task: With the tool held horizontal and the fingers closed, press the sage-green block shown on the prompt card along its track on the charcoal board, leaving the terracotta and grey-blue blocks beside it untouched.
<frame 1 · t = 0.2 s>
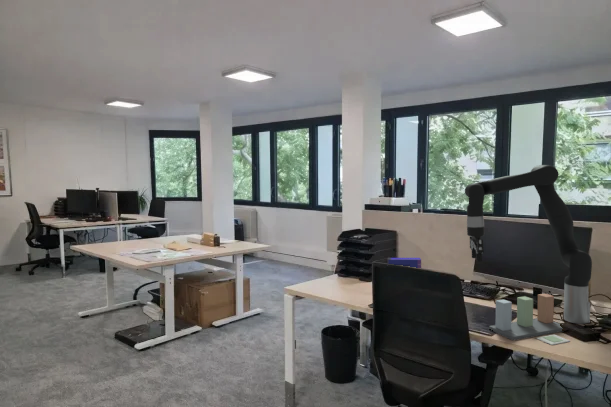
hand: (476, 259, 188), 29 cm above the table, tool pointing down, fingers open, 8 cm apart
sage block: (524, 311, 176), point 8 cm above the table, slide at 0.0 cm
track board: (528, 329, 175), on the table
greyblue block: (503, 314, 173), point 8 cm above the table, slide at 0.0 cm
cereal box: (404, 301, 219), on the table
terracotta block: (545, 308, 180), point 8 cm above the table, slide at 0.0 cm
prompt card: (553, 340, 164), on the table
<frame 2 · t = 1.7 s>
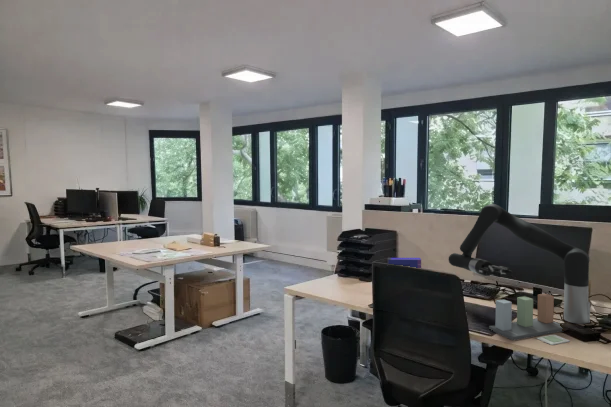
hand: (506, 274, 186), 22 cm above the table, tool horizontal, fingers open, 6 cm apart
nothing on the table moved.
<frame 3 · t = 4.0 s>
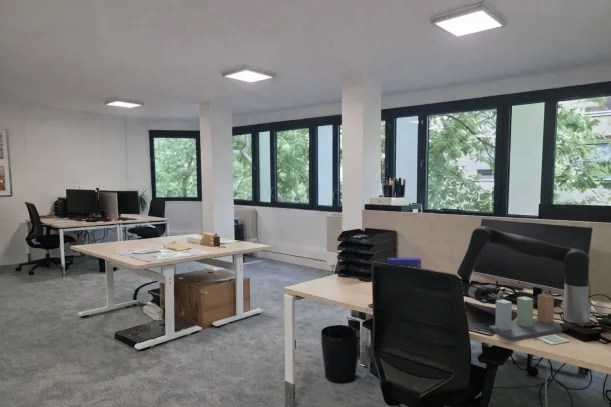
hand: (506, 304, 186), 8 cm above the table, tool horizontal, fingers closed
nothing on the table moved.
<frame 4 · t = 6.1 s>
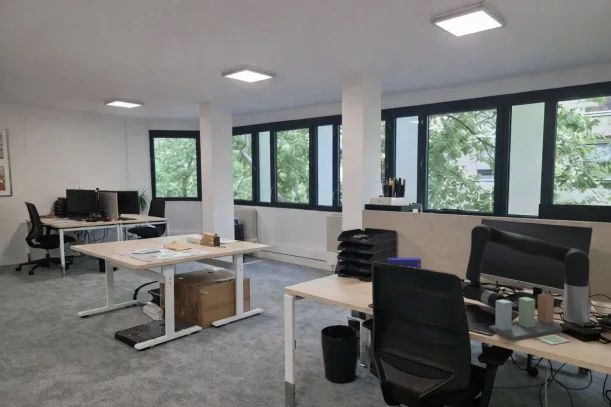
hand: (522, 310, 178), 8 cm above the table, tool horizontal, fingers closed
sage block: (526, 312, 176), point 8 cm above the table, slide at 0.9 cm, touching gripper
everything else where it was.
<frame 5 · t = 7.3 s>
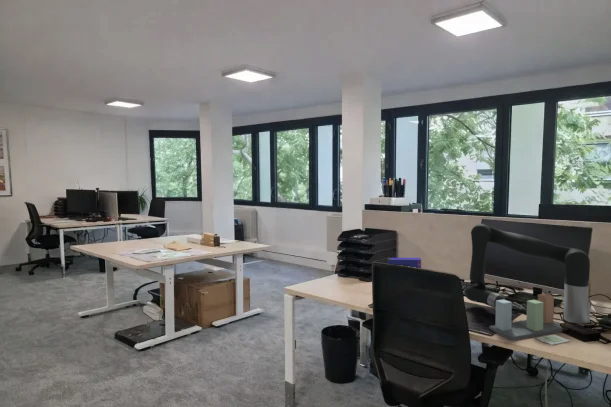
hand: (530, 313, 174), 8 cm above the table, tool horizontal, fingers closed
sage block: (534, 315, 171), point 8 cm above the table, slide at 5.1 cm, touching gripper
everything else where it was.
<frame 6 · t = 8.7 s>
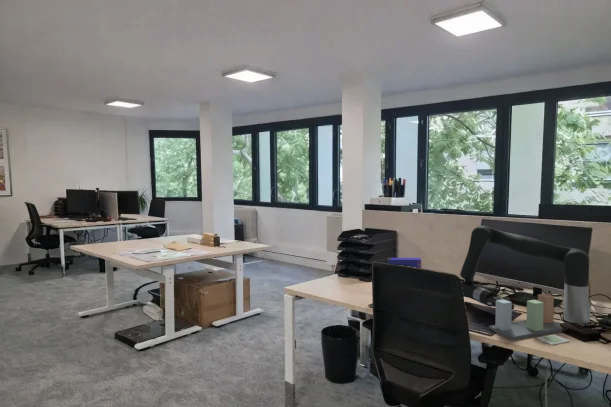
hand: (512, 307, 183), 8 cm above the table, tool horizontal, fingers closed
sage block: (534, 315, 171), point 8 cm above the table, slide at 5.2 cm
everything else where it was.
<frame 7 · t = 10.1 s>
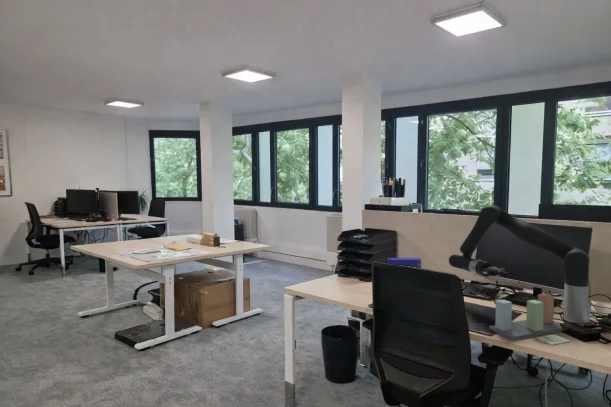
hand: (507, 275, 185), 22 cm above the table, tool horizontal, fingers closed
nothing on the table moved.
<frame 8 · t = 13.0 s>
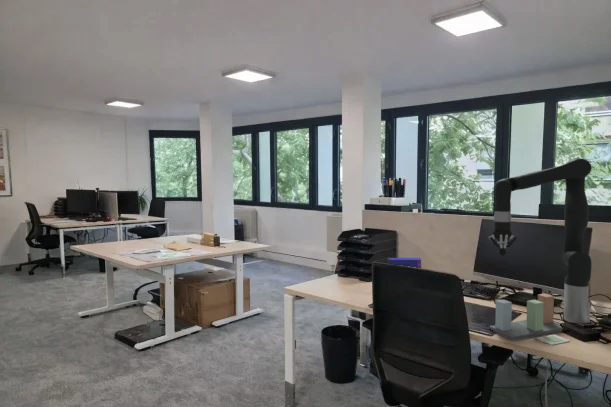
hand: (502, 255, 194), 29 cm above the table, tool pointing down, fingers closed
nothing on the table moved.
at the end: sage block slide at 5.2 cm; terracotta block slide at 0.0 cm; greyblue block slide at 0.0 cm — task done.
